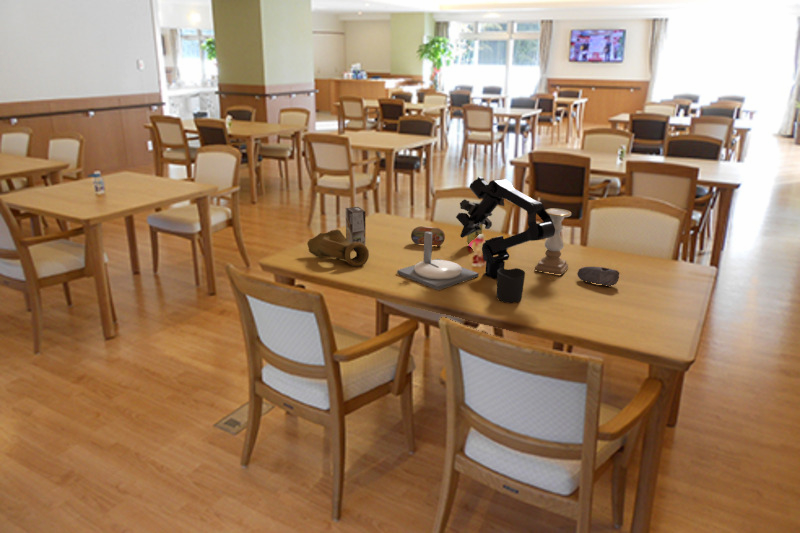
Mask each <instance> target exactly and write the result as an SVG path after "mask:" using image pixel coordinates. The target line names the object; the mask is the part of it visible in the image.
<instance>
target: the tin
mask: <svg viewBox="0 0 800 533" xmlns="http://www.w3.org/2000/svg"><path fill="white" fill-rule="evenodd" d="M425 232H432V245H437V246H438V247H441V246H442V244H443V243H444V242H445V239H446V235H445V232H444V230H442V229H441V228H439V227H431V226H417V227H415V228H414V229H412V231H411V233H410V238H411V242H413V243H414V244H415V245H417V244H424V235H425Z"/></svg>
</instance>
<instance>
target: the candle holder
mask: <svg viewBox="0 0 800 533" xmlns="http://www.w3.org/2000/svg"><path fill="white" fill-rule="evenodd" d="M545 211H546V212H547V213H548V214H549V215H550V217H551V219H552V222H553V224H554V227H555V233H554V236H553V237H550V238H546V240H545V242H544V247H545V248H546V250H545V253H544V254H545V256H543V257H542V258H541V259H540V260H539V261H538V263H536V265H535V267H534V271H535V270H537V271H542V272H549V273H554V274H561V275H562V274H563V273H564V272H565V270H566V269H567V268H568V269H569V264H568V263H567V260H565V259H562V258H561V257H562V256H561V255H562V252H561V251H562V250H563V249H564V247H565V246H564V245H565V244H564V241H563V239H562V237H561V231H562V230H563V229H564V227H563V225H562V222H563V221H564V219H565V218H568V217H571V216H572V212H571V211H570V210H568V209H563V208H547V209H545ZM568 269H567V270H568ZM565 273H566V272H565ZM565 273H564V274H565ZM564 274H563V275H564ZM563 275H562V276H563Z"/></svg>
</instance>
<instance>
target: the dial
mask: <svg viewBox="0 0 800 533" xmlns="http://www.w3.org/2000/svg"><path fill="white" fill-rule="evenodd" d="M432 248H433V247H432V232H425V235H424V246H423V261H419V262H417V263H416V264H414V265H415V273H416V274H417V275H419V276H422V277H425V278H429V279H439V280H443V279H452V278H456V277H458V276H460V275H461V273H462V268H461V267H462V266H461V265H460V264H459V263H456V262H454V261H450V260H445V259H440V260H435V259H432V252H433V251H432V250H433V249H432Z"/></svg>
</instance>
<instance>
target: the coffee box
mask: <svg viewBox="0 0 800 533" xmlns="http://www.w3.org/2000/svg"><path fill="white" fill-rule="evenodd" d="M366 234H367V233H366V210H365V209H363V208H361V207H359V206H351V207H345V238H346V239H347V241H348V242H349V243H353V242H361V243H363V244H364V245H365V246H366V244H367V243H366V237H367V236H366Z"/></svg>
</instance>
